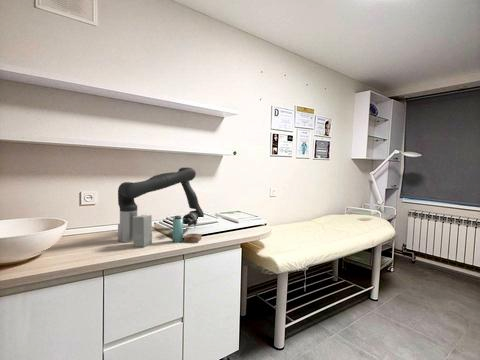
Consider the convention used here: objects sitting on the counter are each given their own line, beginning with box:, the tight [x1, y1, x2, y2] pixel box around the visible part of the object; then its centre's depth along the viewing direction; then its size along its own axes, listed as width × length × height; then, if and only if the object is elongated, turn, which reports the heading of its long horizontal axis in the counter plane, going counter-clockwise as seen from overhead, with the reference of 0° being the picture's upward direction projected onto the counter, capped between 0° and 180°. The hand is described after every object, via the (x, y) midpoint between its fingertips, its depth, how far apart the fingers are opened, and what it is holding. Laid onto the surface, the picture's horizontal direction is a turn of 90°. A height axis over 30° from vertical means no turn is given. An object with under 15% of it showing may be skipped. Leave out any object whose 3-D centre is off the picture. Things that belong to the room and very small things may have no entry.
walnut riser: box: [183, 233, 202, 244], centre depth 146 cm, size 8×8×3 cm
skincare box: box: [133, 214, 153, 248], centre depth 135 cm, size 8×7×16 cm
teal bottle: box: [172, 215, 184, 243], centre depth 144 cm, size 6×6×14 cm
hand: (181, 224), depth 151 cm, fingers open, 8 cm apart
